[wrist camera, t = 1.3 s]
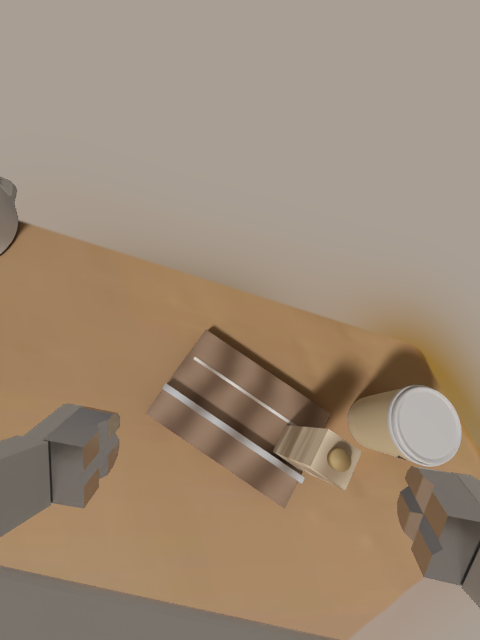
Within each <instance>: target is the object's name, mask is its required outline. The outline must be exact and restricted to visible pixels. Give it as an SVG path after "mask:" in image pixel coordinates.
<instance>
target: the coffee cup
mask: <svg viewBox="0 0 480 640" xmlns="http://www.w3.org/2000/svg"><path fill="white" fill-rule="evenodd" d="M348 424H349V428H350V431H351V433H352V435H353V437H354V438H355V439H356V440H357V442H358V443H360V444H361V445H362V446H364V447H366V448H369V449H372V450H375V451H378V452H381V453H385V454H388V455H391V456H395V457H398V458H401V459H405V460H408V461H412V462H414V463H416V464H419V465H422V466H428V467H430V466H438V465H441V464H443V463H445V462H447V461H449V460H450V459H451V458H452V457H453V456H454V455H455V454H456V452H457V450H458V449H459V446H460V442H461V435H462V432H461V424H460V420H459V417H458V414H457V412H456V410H455V408H454V407H453V405H452V404H451V403H450V401H449V400H448V399H447V398H446V397H445V396H444V395H442V394H441V393H440V392H438V391H436V390H434V389H432V388H430V387H427V386H423V385H411V386H407V387H404V388H401V389H397V390H392V391H388V392H383V393H379V394H375V395H371V396H367V397H363V398H361V399H359V400H357V401H356V402H355V403H354V404H353V405H352V407H351V409H350V411H349V415H348Z"/></svg>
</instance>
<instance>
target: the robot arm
mask: <svg viewBox="0 0 480 640" xmlns="http://www.w3.org/2000/svg"><path fill="white" fill-rule="evenodd" d="M16 192H17V189H16V187H15V185H14V184H13V183H12V182H11V181H9V180H7V179H4V178H2V177H0V254H1V253H2V252H3V251H4V250H5V249H6V248H7V247H8V246H9V245H10V243H11V242H12V240H13V239H14V237H15V234H16V232H17V227H18V216H17V212H16V209H15V205H14V201H15V198H16ZM119 427H120V416H119V415H118V413H115V412H110V411H105V410H100V409H95V408H91V407H86V406H85V407H84V406H80V405H75V404H69V403H68V404H63V405H62V406H61V407H59V408H58V409H57V410H56V411H54V412H53V413H52V414H51V415H49V416H48V417H47V418H46V419H44V420H43V421H42V422H41V423H39V424H38V425H37V426H35V427H34V428H33V429H32V430H30V431H29V432H28V433H27V434H25V435H24V436H23V437H22V436H14V437H11V438H8V439H5V440H2V441H0V537H1V536H3V535H4V534H6V533H7V532H9V531H11V530H12V529H14V528H15V527H17V526H18V525H20V524H22V523H23V522H25V521H26V520H28V519H29V518H31V517H33V516H34V515H36V514H37V513H39V512H40V511H42V510H44V509H45V508H47V507H48V506H50V505H51V503H55V504H61V505H67V506H73V507H79V508H85V506H86V505H87V503H88V502H89V500H90V499H91V498H92V496H93V495H94V493H95V492H96V491H97V489H98V488H99V479H100V478H102V477H104V476H106V475H108V473H109V472H110V470H111V469H112V467H113V465H114V463H115V460H116V458H117V455H118V450H119V438H118V437H117V435H116V434H115V432H116V430H117V429H118V428H119ZM405 479H406V482H407V484H408V487H406V488H405V489H404V490H402V491H401V492H400V495H399V498H398V502H397V513H398V518H399V522H400V525H401V527H402V529H403V532H404V533H405V534H406V535H407V536H408V537H409V538H410V539H412V540H413V541H414V542H413V545H412V548H411V550H412V552H413V554H414V557H415V559H416V561H417V563H418V565H419V568H420V570H421V572H422V574H423V577H426V578H430V579H435V580H439V581H443V582H448V583H452V584H456V585H461V586H462V589H463V590H464V591H465V592H466V593H467V594H468V595H469V596H470V597H471V599H472V600H473V601H474V602H475V603H476V604H477V605H478V606H479V607H480V482H479V480H478V479H476V478H475V477H473V476H471V475H466V474H459V473H452V472H451V473H449V472H443V471H437V470H431V469H425V468H419V467H414V466H411V467H410V469H409V470H408V471H407V474H406V477H405ZM0 640H338V639H334V638H329V637H324V636H320V635H315V634H311V633H306V632H301V631H297V630H292V629H288V628H283V627H279V626H274V625H270V624H265V623H260V622H256V621H251V620H247V619H242V618H238V617H233V616H228V615H224V614H219V613H215V612H210V611H206V610H201V609H196V608H192V607H187V606H183V605H178V604H174V603H169V602H164V601H160V600H155V599H151V598H146V597H142V596H137V595H132V594H128V593H123V592H119V591H114V590H110V589H105V588H100V587H96V586H91V585H87V584H82V583H78V582H73V581H68V580H64V579H59V578H55V577H50V576H45V575H41V574H36V573H32V572H27V571H23V570H18V569H13V568H9V567H4V566H0Z"/></svg>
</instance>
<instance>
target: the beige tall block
mask: <svg viewBox="0 0 480 640" xmlns="http://www.w3.org/2000/svg"><path fill="white" fill-rule="evenodd" d="M272 452H274V453H275V454H277V455H278V456H280V457H281V458H283V459H284V460H285V461H287V462H288V463H290V464H291V465H293V466H294V467H296V468H297V469H300V470H302V471H304V472H306V473H308V474H311V475H313V476H315V477H317V478H319V479H322V480H324V481H326V482H328V483H330V484H333V485H335V486H337V487H339V488H341V489H344V490H346V487H347V485H348V483H349V480H350V478H351V476H352V473H353V471H354V469H355V466H356V464H357V462H358V459H359V457H360V455H361V452H362V451H360V450H359V449H357V448H356V447H354V446H353V445H351V444H350V443H348V442H347V441H346V440H344V439H343V438H341V437H340V436H338V435H337V434H335V433H334V432H332V431H331V430H329V429H324V428H313V427H301V426H290V425H286V427H285V429H284V431H283V433H282V435H281V436H280V438H279V440H278V442H277V444H276V446H275V448H274V450H273V451H272Z"/></svg>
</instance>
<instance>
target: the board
mask: <svg viewBox="0 0 480 640" xmlns="http://www.w3.org/2000/svg"><path fill="white" fill-rule="evenodd" d="M162 389H163V390H162V391H161V392H160V394H159V395H158V397H157V398H156V399H155V401H154V402H153V404H152V405H151V406H150V408H149V409H148V410H147V412H146V414H147V415H149V416H150V417H152V418H153V419H154V420H156V421H157V422H159V423H160V424H162V425H163V426H165V427H166V428H168V429H169V430H171V431H172V432H173V433H175V434H176V435H178V436H179V437H181V438H182V439H184V440H185V441H187V442H188V443H190V444H191V445H193V446H194V447H195V448H197V449H198V450H200V451H201V452H203V453H204V454H206V455H207V456H209V457H210V458H212V459H213V460H214V461H216V462H217V463H219V464H220V465H222V466H223V467H225V468H226V469H228V470H229V471H231V472H232V473H233V474H235V475H236V476H238V477H239V478H241V479H242V480H244V481H245V482H247V483H248V484H250V485H251V486H253V487H254V488H255V489H257V490H258V491H260V492H261V493H263V494H264V495H266V496H267V497H269V498H270V499H272V500H273V501H274V502H276V503H277V504H279V505H280V506H282V507H283V508H285V507H286V505H287V503H288V501H289V499H290V497H291V495H292V493H293V490H294V488H295V486H296V484H297V482H300V483H303V481H304V479H305V478H304V477H303V476H302V475H301V474H302V472H303V471H302V470H300V469H297V468H296V467H294V466H293V465H291V464H290V463H288V462H287V461H285V460H284V459H283V458H281V457H280V456H278V455H277V454H275V453H274V452H272V451H273V450H274V448H275V446H276V444H277V442H278V440H279V438H280V436H281V435H282V433H283V431H284V429H285V427H286V425H290V426H301V427H313V428H324V427H325V425H326V423H327V421H328V418H329V416H330V413H329V412H327V411H326V410H324V409H323V408H321V407H320V406H318V405H317V404H315V403H314V402H313V401H311V400H310V399H308V398H307V397H305V396H304V395H302V394H301V393H299V392H298V391H296V390H295V389H293V388H292V387H290V386H289V385H287V384H286V383H284V382H283V381H281V380H280V379H278V378H277V377H276V376H274V375H273V374H271V373H270V372H268V371H267V370H265V369H264V368H262V367H261V366H259V365H258V364H256V363H255V362H253V361H252V360H250V359H249V358H247V357H246V356H244V355H243V354H241V353H240V352H239V351H237V350H236V349H234V348H233V347H231V346H230V345H228V344H227V343H225V342H224V341H222V340H221V339H219V338H218V337H216V336H215V335H213V334H212V333H210V332H209V331H207V330H205V331H204V333H203V334H202V336H201V337H200V338H199V340H198V341H197V342H196V344H195V345H194V347H193V348H192V349H191V351H190V352H189V354H188V355H187V356H186V358H185V359H184V361H183V362H182V363H181V365H180V366H179V367H178V369H177V370H176V372H175V373H174V374H173V376H172V377H171V379H170V380H169V381H168V383H167V384H165V385H164V386H163V388H162Z"/></svg>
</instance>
